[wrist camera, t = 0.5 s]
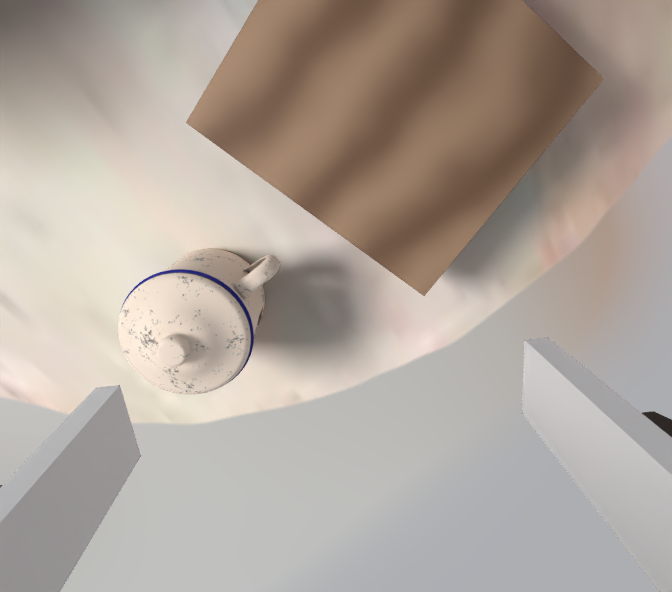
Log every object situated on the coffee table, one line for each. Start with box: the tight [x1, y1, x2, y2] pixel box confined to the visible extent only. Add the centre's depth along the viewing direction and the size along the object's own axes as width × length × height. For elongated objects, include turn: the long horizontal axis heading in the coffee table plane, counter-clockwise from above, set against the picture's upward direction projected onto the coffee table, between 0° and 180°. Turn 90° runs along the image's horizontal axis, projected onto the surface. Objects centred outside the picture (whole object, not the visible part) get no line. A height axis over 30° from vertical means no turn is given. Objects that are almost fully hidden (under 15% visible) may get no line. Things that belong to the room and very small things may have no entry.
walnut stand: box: [186, 0, 604, 296], centre depth 31 cm, size 20×18×6 cm
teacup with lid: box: [118, 249, 280, 394], centre depth 32 cm, size 12×9×12 cm
